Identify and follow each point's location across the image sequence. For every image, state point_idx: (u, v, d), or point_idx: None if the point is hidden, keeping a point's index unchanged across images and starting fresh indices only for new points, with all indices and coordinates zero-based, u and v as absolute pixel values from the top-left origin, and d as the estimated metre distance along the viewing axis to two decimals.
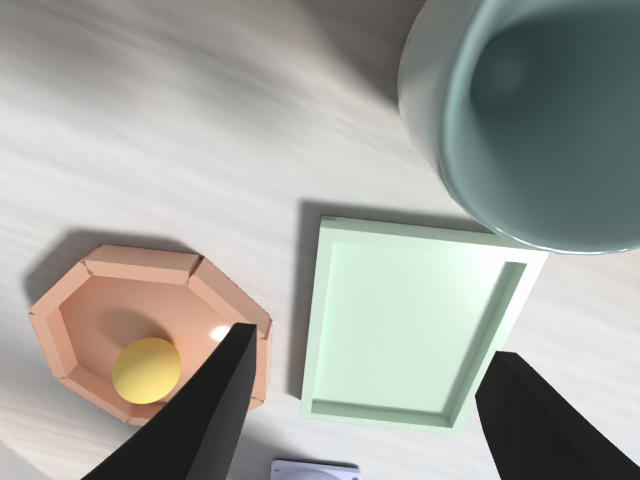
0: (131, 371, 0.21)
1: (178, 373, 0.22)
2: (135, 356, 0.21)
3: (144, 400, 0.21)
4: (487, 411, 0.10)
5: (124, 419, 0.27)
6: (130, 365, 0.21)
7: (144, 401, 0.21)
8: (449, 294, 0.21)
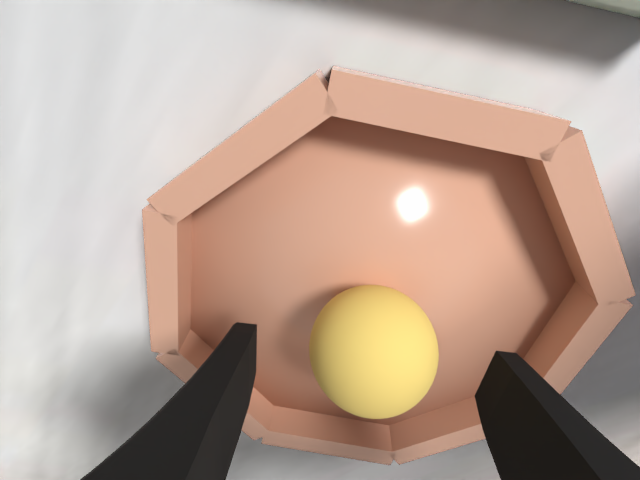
0: (325, 379, 0.10)
1: (389, 301, 0.10)
2: (311, 357, 0.11)
3: (399, 388, 0.09)
4: (487, 412, 0.10)
5: None
6: (318, 374, 0.10)
7: (404, 388, 0.09)
8: None
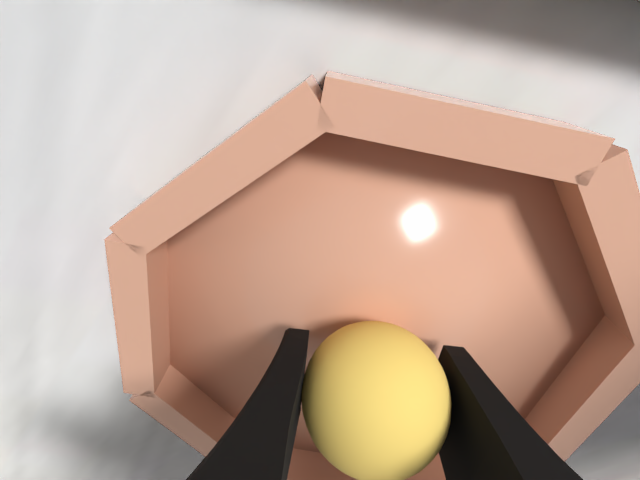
0: (320, 438, 0.08)
1: (394, 345, 0.09)
2: (304, 409, 0.09)
3: (407, 453, 0.08)
4: None
5: None
6: (311, 430, 0.09)
7: (413, 454, 0.08)
8: None
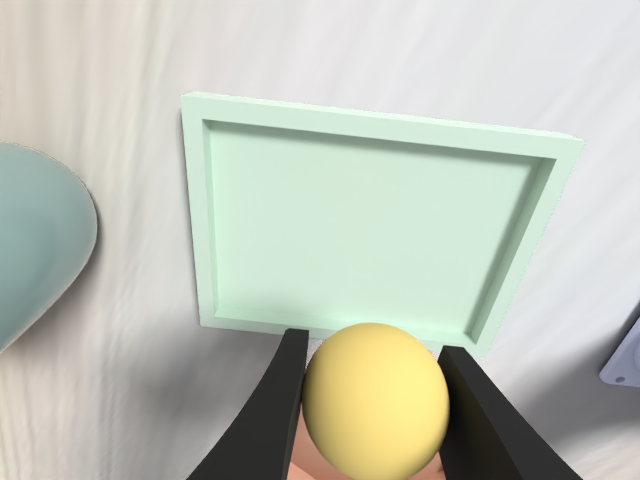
0: (319, 440, 0.09)
1: (390, 346, 0.09)
2: (303, 412, 0.09)
3: (406, 454, 0.08)
4: None
5: None
6: (311, 433, 0.09)
7: (411, 454, 0.08)
8: (280, 191, 0.16)
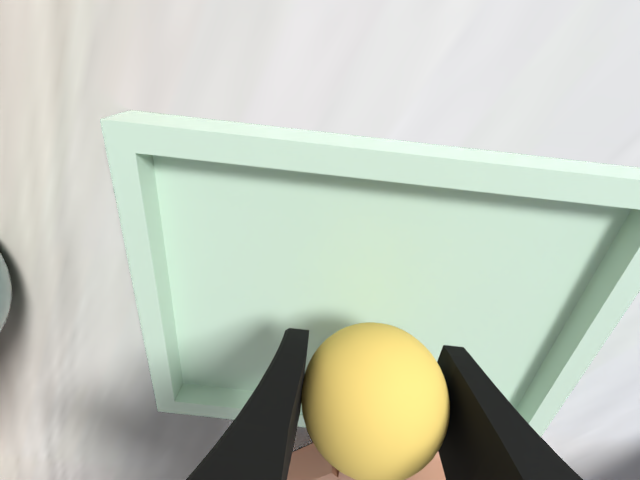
0: (319, 440, 0.09)
1: (390, 346, 0.09)
2: (303, 412, 0.09)
3: (406, 454, 0.08)
4: None
5: None
6: (311, 433, 0.09)
7: (411, 454, 0.08)
8: (257, 247, 0.12)
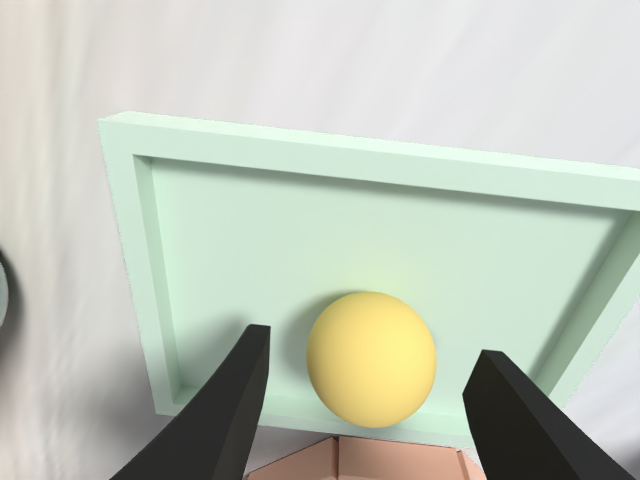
0: (323, 389, 0.10)
1: (384, 308, 0.10)
2: (308, 368, 0.10)
3: (397, 396, 0.09)
4: (473, 410, 0.10)
5: None
6: (315, 384, 0.10)
7: (402, 397, 0.09)
8: (256, 248, 0.12)
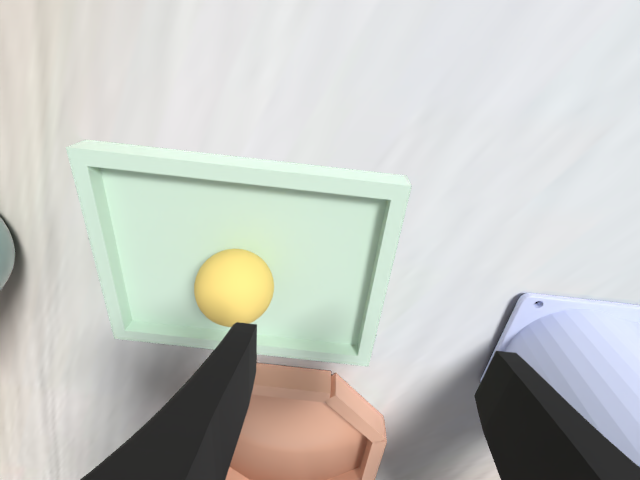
0: (198, 301, 0.17)
1: (235, 255, 0.17)
2: None
3: (234, 302, 0.16)
4: (487, 412, 0.10)
5: None
6: (196, 300, 0.17)
7: (237, 302, 0.16)
8: (169, 223, 0.19)
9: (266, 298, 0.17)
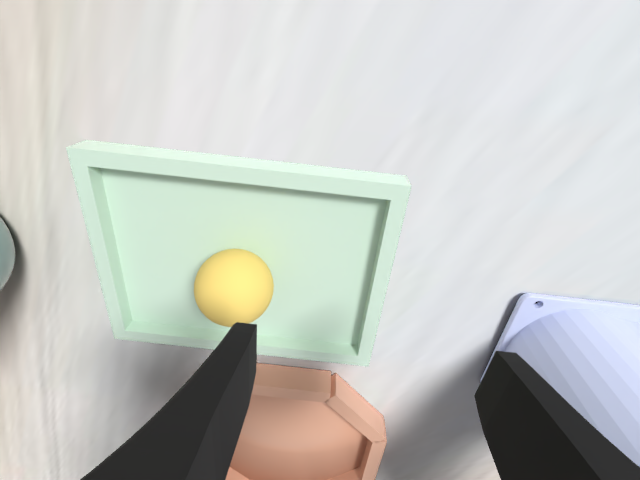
0: (197, 301, 0.17)
1: (235, 255, 0.17)
2: None
3: (234, 302, 0.16)
4: (487, 411, 0.10)
5: None
6: (195, 300, 0.17)
7: (237, 302, 0.16)
8: (169, 223, 0.19)
9: (265, 298, 0.17)
